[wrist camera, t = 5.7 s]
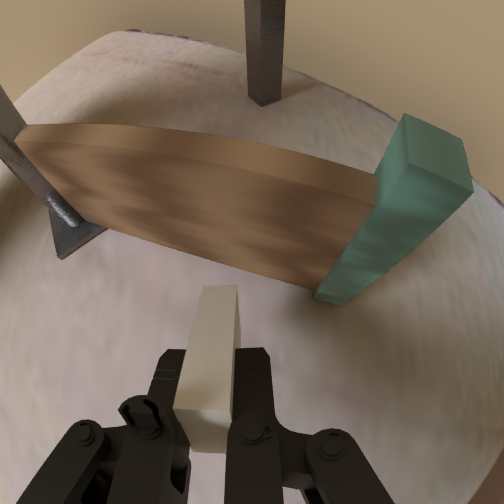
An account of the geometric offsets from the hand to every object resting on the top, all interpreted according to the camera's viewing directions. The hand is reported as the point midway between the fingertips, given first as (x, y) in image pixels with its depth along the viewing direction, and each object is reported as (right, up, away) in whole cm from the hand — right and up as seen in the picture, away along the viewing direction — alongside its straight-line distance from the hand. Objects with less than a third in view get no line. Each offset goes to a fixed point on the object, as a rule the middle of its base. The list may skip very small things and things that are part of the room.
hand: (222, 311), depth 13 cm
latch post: (+3, +19, +13) cm, 23 cm away
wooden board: (-2, +3, +6) cm, 7 cm away
